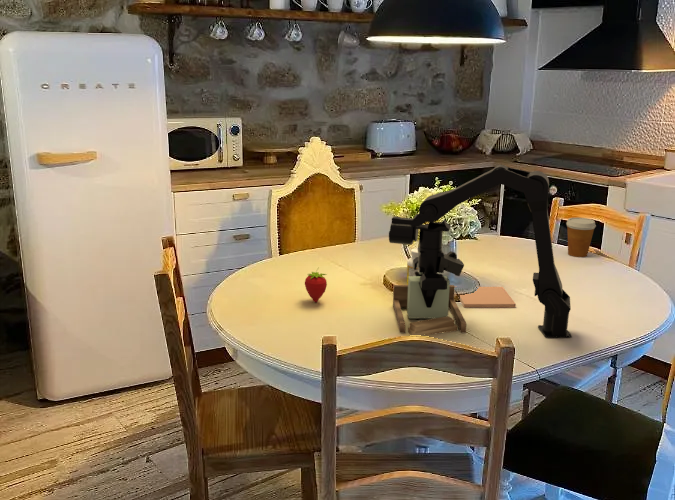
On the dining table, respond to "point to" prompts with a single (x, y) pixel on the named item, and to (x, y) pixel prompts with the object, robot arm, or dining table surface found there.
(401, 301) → the rack
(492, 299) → the tile
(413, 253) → the supplement bottle
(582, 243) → the disposable coffee cup
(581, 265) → the dining table surface
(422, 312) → the sage green square block
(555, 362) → the dining table surface
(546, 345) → the dining table surface
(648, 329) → the dining table surface
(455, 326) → the offcut stack
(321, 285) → the strawberry
